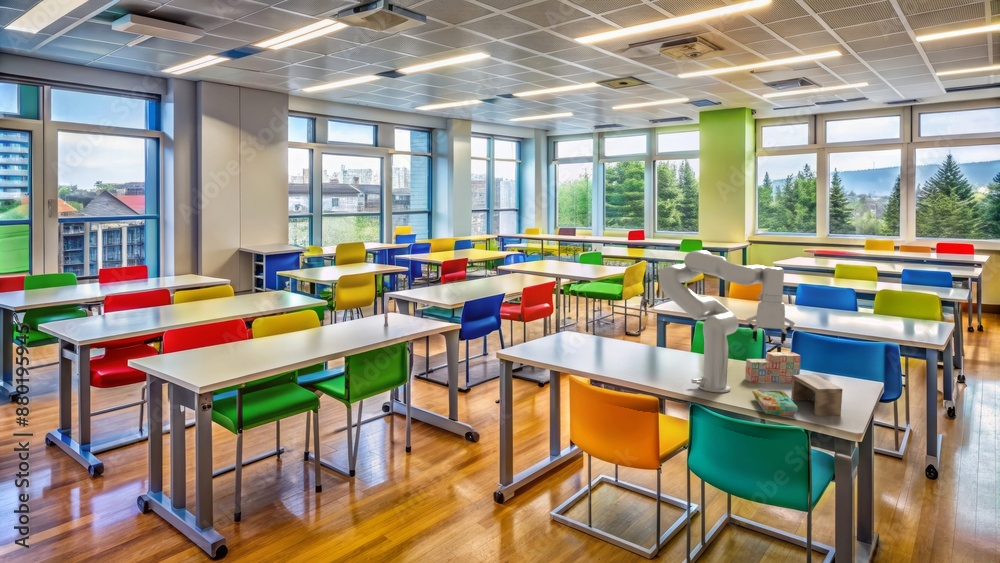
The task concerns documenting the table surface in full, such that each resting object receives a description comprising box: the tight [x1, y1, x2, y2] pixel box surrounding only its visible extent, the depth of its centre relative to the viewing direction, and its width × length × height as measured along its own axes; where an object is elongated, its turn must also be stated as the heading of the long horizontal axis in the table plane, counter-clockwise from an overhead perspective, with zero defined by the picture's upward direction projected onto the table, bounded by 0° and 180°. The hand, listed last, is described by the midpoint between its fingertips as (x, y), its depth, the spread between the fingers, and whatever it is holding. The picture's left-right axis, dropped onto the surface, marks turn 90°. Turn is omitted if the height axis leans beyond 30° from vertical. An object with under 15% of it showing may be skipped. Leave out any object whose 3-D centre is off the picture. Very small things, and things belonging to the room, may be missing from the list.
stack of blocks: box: [744, 351, 801, 383], centre depth 266 cm, size 21×6×12 cm, turn 91°
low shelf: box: [790, 374, 843, 416], centre depth 230 cm, size 9×19×10 cm, turn 0°
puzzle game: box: [752, 389, 799, 417], centre depth 231 cm, size 12×5×20 cm
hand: (768, 341), depth 236 cm, fingers open, 9 cm apart
